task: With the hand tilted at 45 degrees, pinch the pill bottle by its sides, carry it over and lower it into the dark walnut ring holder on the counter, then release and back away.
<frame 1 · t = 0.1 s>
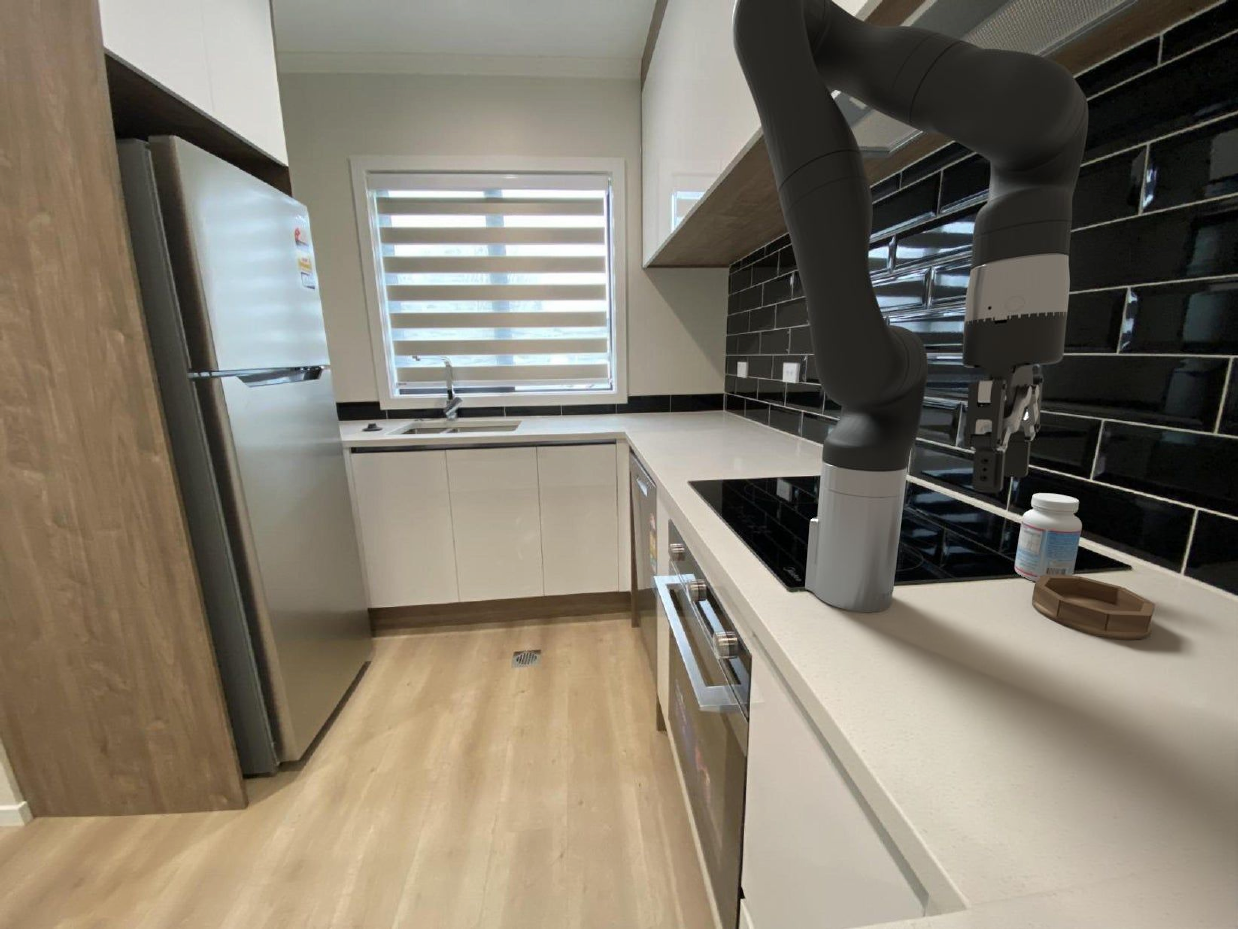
hand: (1000, 483, 49), 17 cm above the countertop, tool pointing down, fingers open, 8 cm apart
pill bottle: (1040, 577, 67), on the countertop
walnut ring holder: (1087, 615, 57), on the countertop
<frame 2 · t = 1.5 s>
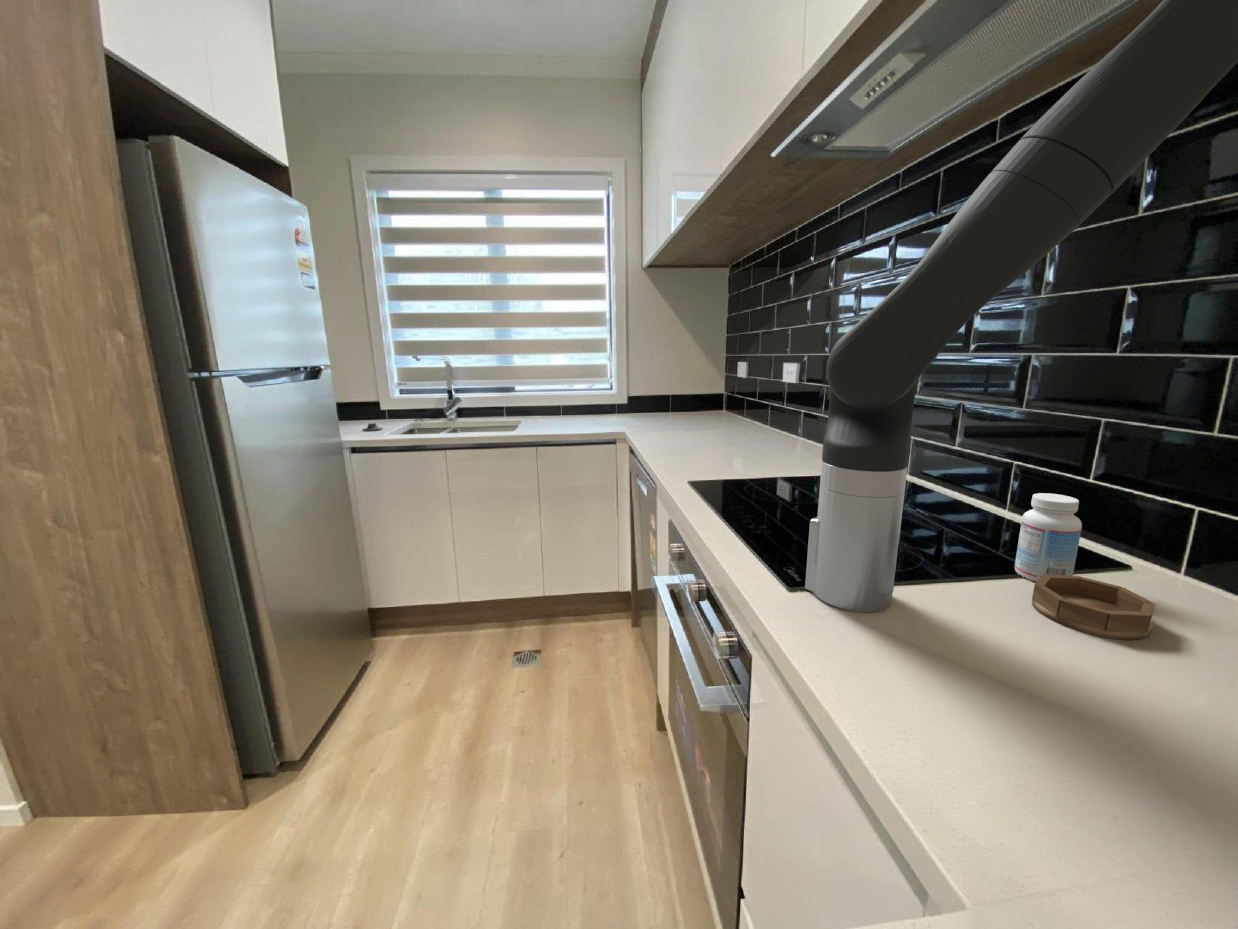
nothing on the countertop moved.
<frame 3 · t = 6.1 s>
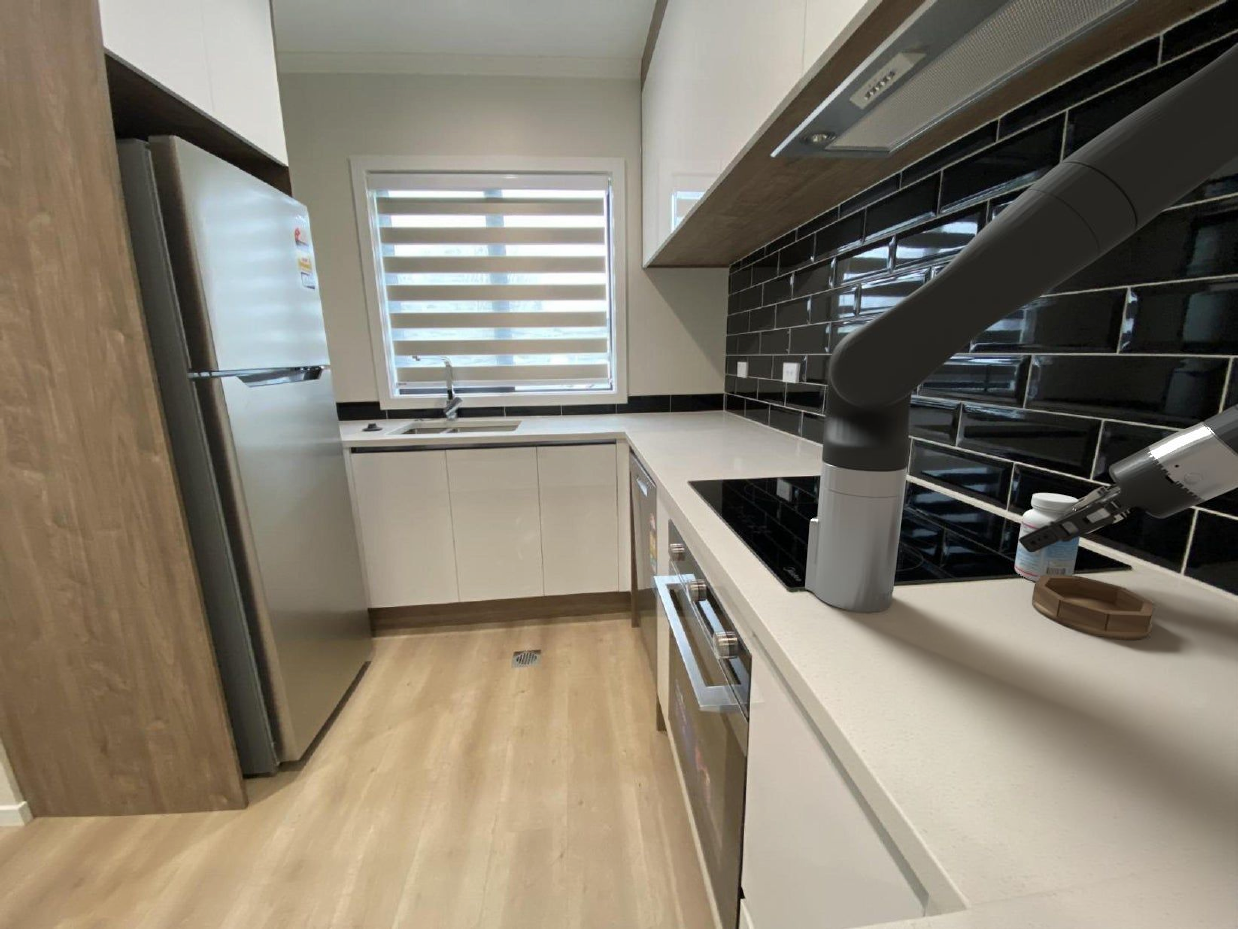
hand: (1031, 539, 67), 5 cm above the countertop, tool tilted 45°, fingers closed on pill bottle, 6 cm apart
pill bottle: (1040, 577, 67), on the countertop, touching gripper
when the fingers open (7 cm above the countertop, at t = 11.6 s): pill bottle drops 1 cm, resting on walnut ring holder.
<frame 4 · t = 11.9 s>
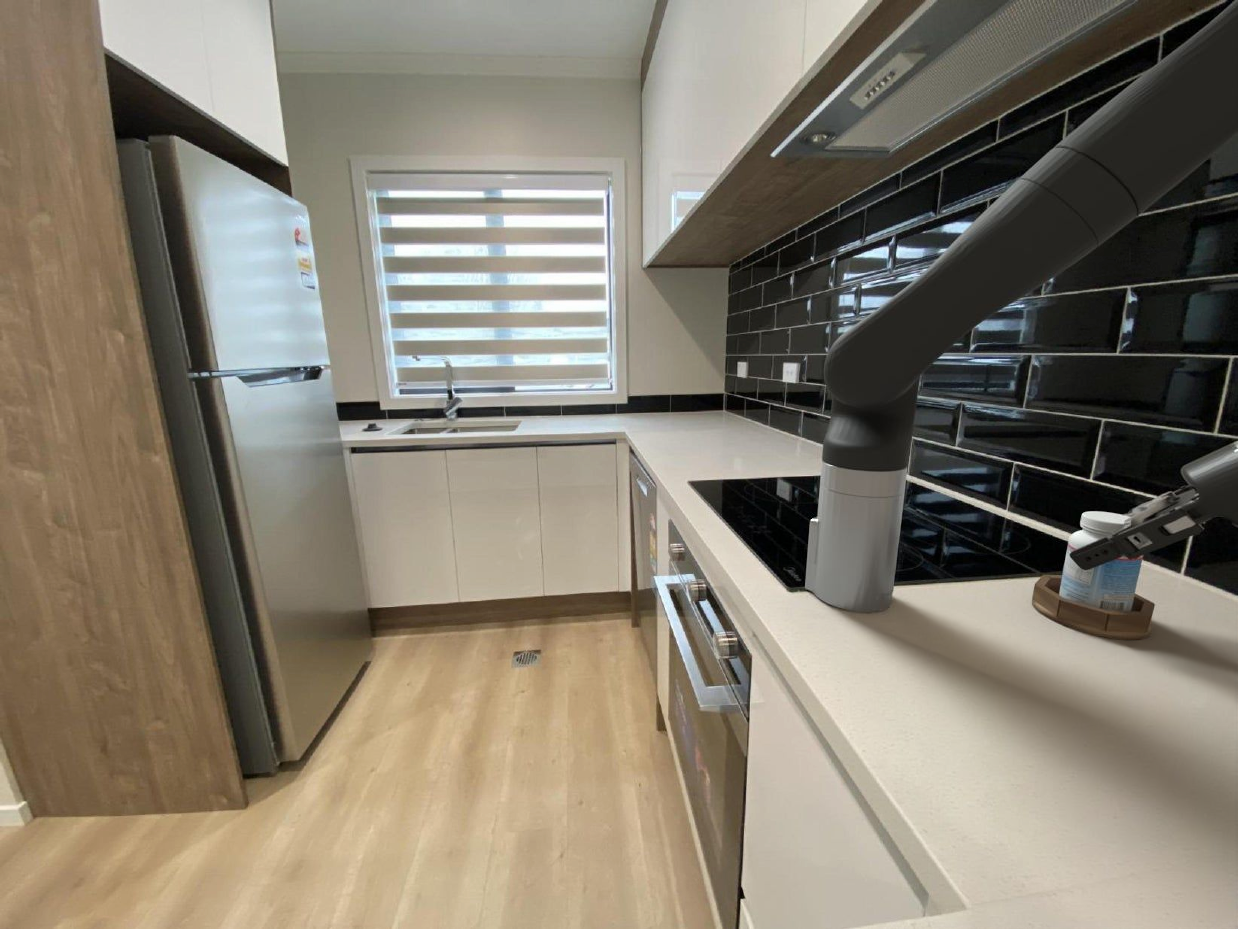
hand: (1083, 552, 56), 7 cm above the countertop, tool tilted 45°, fingers open, 8 cm apart
pill bottle: (1091, 611, 57), point 1 cm above the countertop, touching walnut ring holder
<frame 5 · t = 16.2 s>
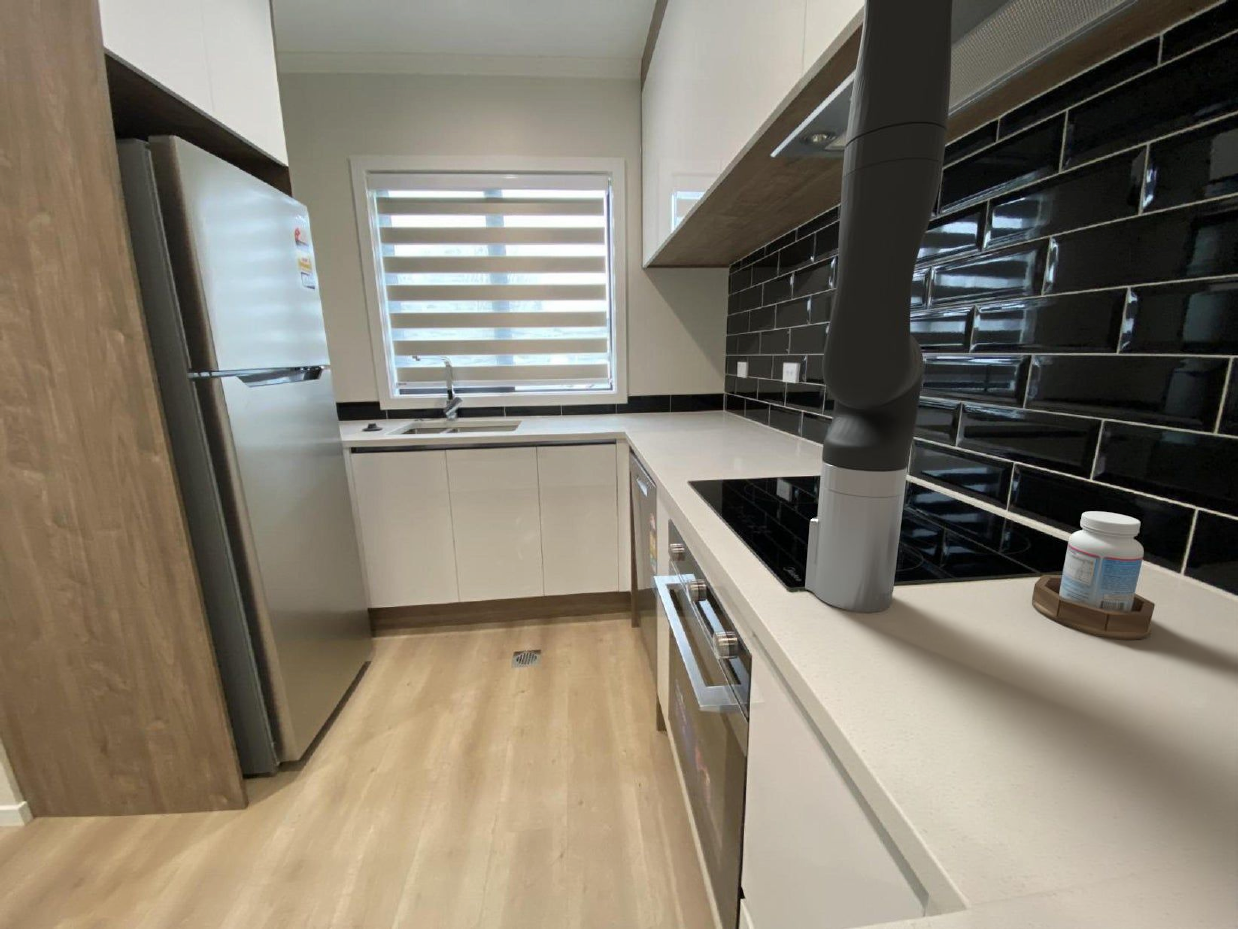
nothing on the countertop moved.
at the end: pill bottle 0.2 cm from the walnut ring holder (horizontally); pill bottle tilted 0°; pill bottle point 0.6 cm above the countertop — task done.
